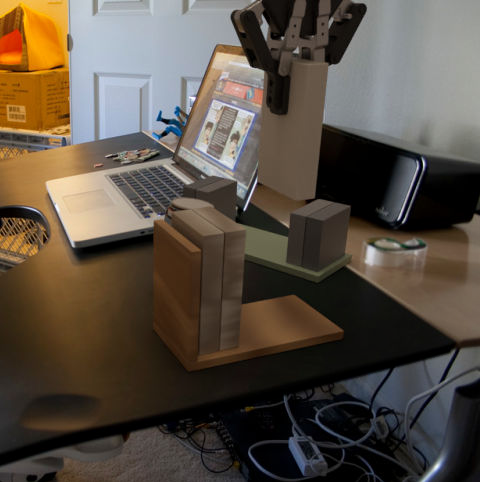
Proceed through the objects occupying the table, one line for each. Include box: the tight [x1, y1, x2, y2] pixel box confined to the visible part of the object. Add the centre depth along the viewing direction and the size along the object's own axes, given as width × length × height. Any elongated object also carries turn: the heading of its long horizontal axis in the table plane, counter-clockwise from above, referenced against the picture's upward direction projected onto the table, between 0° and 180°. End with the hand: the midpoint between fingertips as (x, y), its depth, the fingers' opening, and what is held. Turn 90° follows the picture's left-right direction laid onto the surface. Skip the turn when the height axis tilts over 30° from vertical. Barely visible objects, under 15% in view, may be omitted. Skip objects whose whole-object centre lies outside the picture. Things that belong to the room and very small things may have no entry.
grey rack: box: [182, 175, 353, 284], centre depth 89 cm, size 23×9×8 cm, turn 43°
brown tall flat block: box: [256, 56, 330, 202], centre depth 63 cm, size 2×7×13 cm, turn 17°
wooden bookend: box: [152, 206, 345, 373], centre depth 67 cm, size 18×9×14 cm, turn 107°
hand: (290, 111), depth 63 cm, fingers closed on brown tall flat block, 2 cm apart
